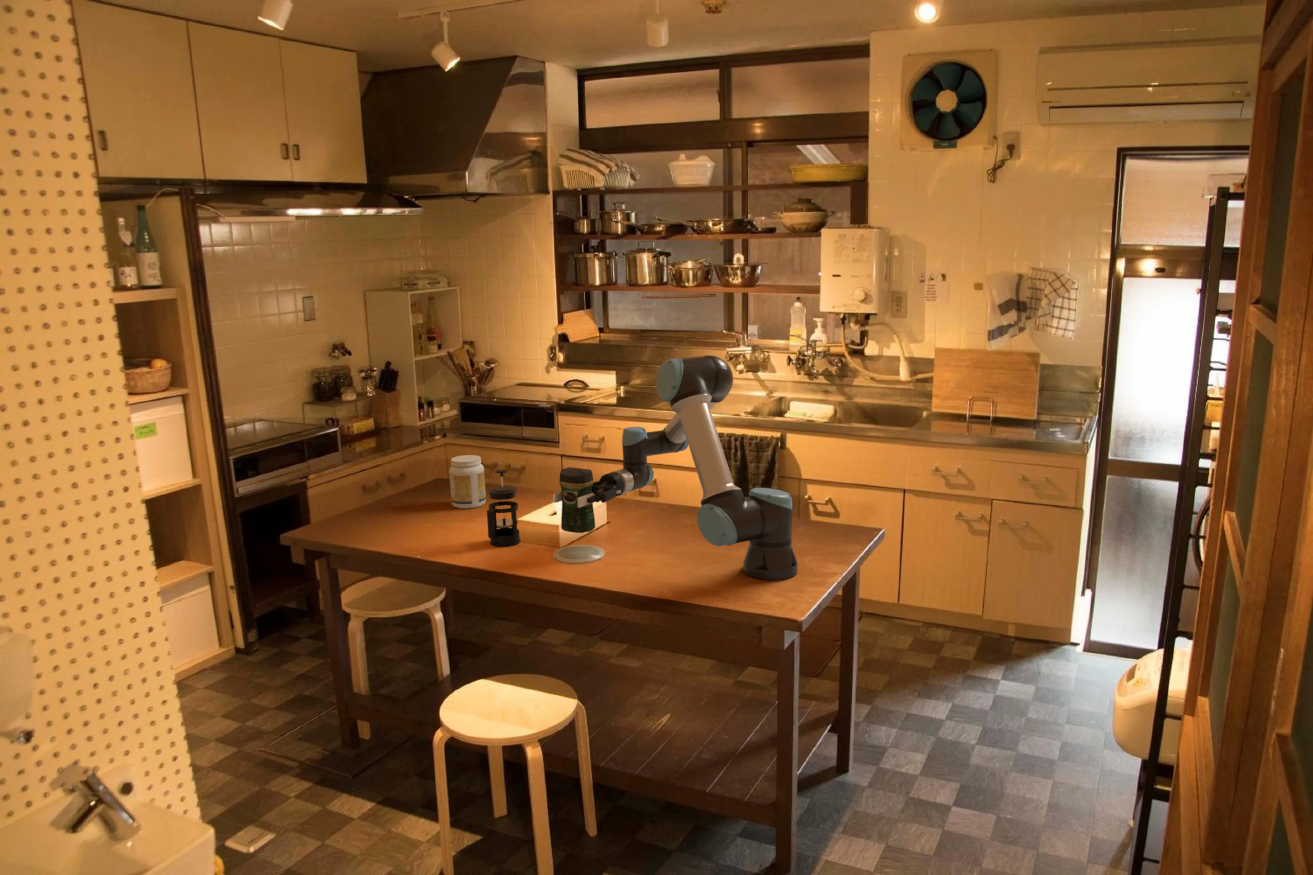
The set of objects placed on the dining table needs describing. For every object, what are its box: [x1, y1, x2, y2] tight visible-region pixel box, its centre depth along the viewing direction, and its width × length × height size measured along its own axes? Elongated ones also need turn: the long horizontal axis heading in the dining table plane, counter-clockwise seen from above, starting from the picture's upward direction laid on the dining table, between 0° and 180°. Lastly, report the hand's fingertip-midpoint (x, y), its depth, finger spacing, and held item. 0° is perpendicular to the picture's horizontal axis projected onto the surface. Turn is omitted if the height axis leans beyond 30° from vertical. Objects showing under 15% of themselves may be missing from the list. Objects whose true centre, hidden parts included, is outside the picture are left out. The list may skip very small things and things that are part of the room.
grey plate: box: [553, 544, 605, 565], centre depth 281 cm, size 15×15×1 cm
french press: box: [486, 468, 521, 548], centre depth 292 cm, size 12×9×23 cm
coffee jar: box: [558, 467, 596, 534], centre depth 278 cm, size 10×8×19 cm
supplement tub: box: [448, 454, 487, 510], centre depth 335 cm, size 12×12×17 cm
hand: (566, 500), depth 274 cm, fingers closed on coffee jar, 8 cm apart
